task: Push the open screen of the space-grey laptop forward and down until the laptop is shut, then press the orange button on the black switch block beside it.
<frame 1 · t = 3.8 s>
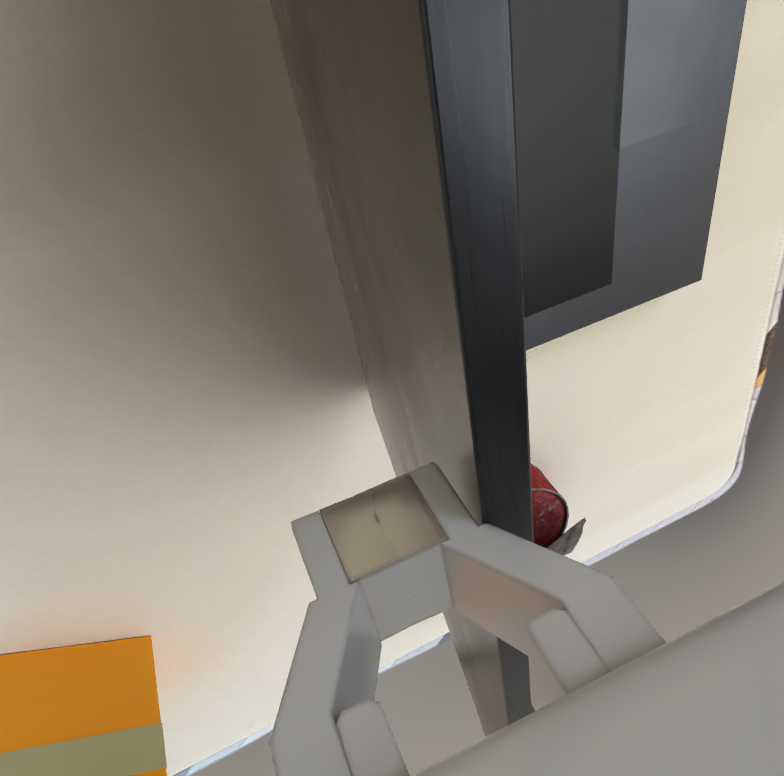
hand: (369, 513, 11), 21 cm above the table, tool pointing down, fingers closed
laptop: (529, 57, 30), on the table
canned food: (487, 510, 48), on the table
orange juice: (71, 680, 41), on the table
laptop screen: (371, 251, 18), point 12 cm above the table, hinge at 98.3°, touching gripper
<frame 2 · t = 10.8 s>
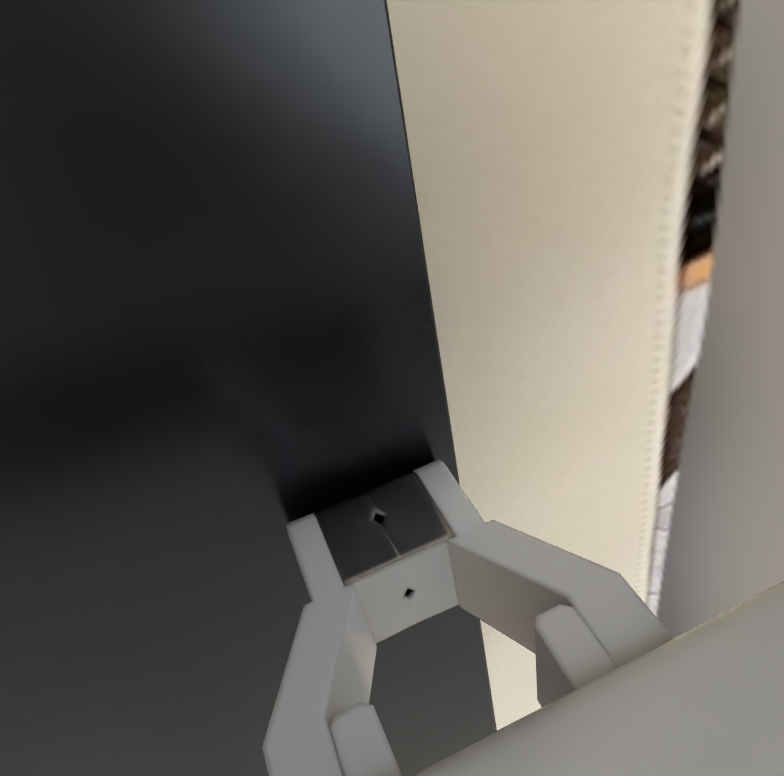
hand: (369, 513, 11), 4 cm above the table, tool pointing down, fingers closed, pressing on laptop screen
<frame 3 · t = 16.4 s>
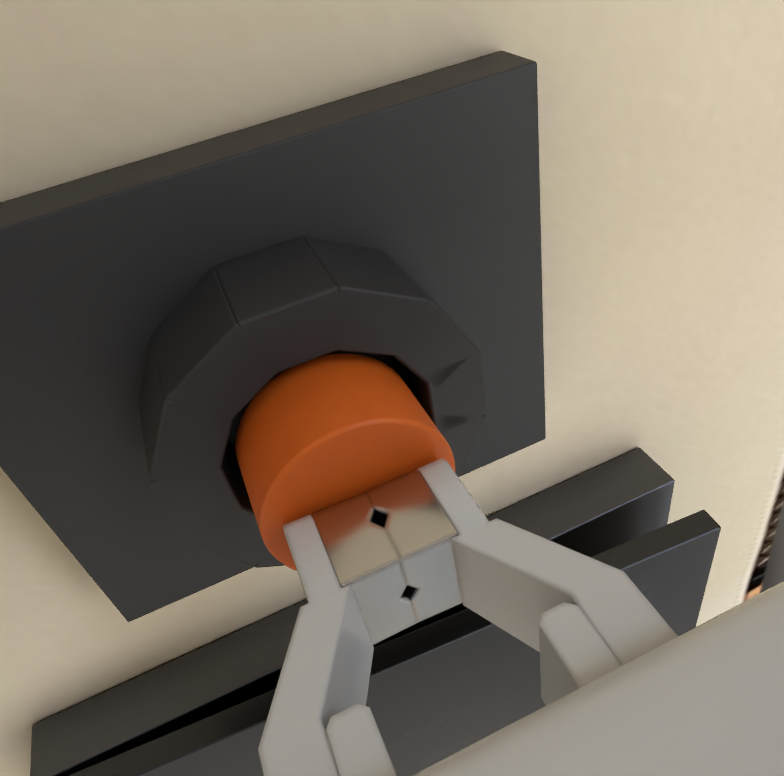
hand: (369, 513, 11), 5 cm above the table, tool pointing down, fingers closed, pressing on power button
laptop: (427, 754, 30), on the table
switch block: (287, 352, 15), on the table
power button: (343, 464, 12), point 4 cm above the table, slide at 0.0 cm, touching gripper
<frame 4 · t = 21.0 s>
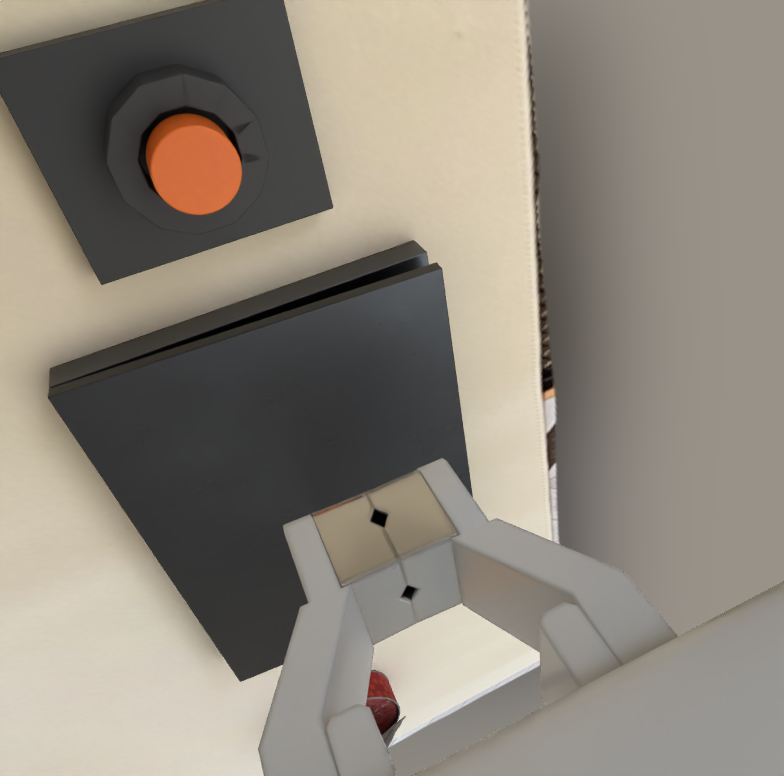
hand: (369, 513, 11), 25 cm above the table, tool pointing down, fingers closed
laptop: (309, 480, 45), on the table
canned food: (342, 700, 64), on the table
switch block: (180, 138, 30), on the table
laptop screen: (320, 509, 43), point 3 cm above the table, hinge at 3.4°, touching laptop
power button: (193, 164, 27), point 4 cm above the table, slide at 0.1 cm
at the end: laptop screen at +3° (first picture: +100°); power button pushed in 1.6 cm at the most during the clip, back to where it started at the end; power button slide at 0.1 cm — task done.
